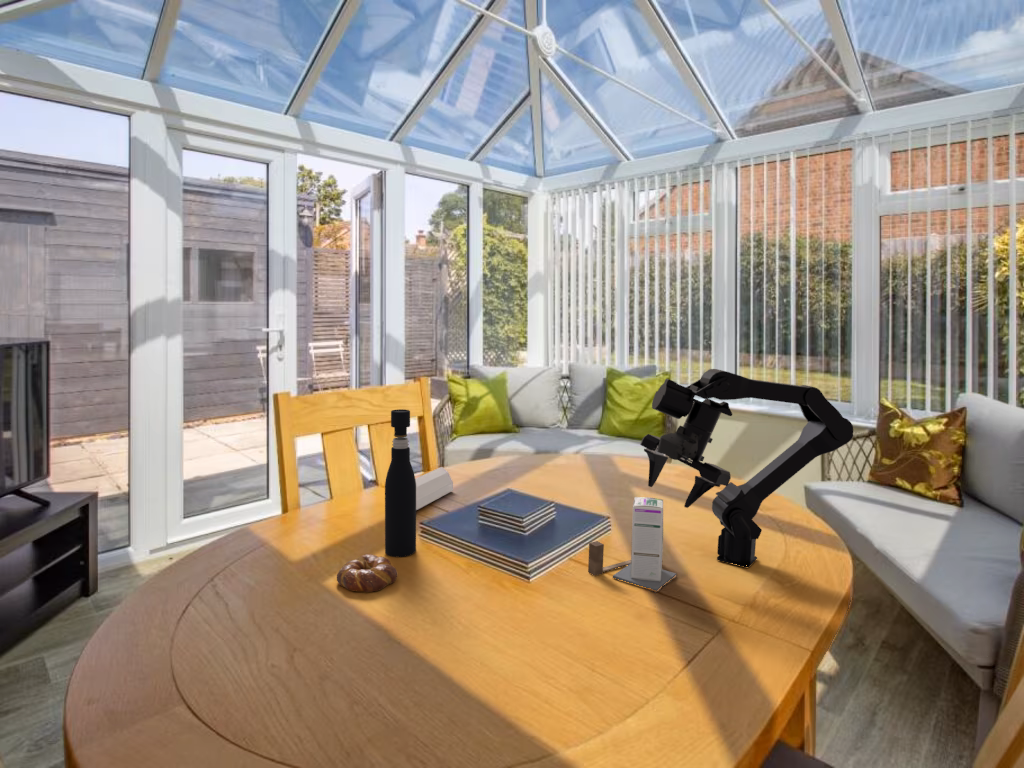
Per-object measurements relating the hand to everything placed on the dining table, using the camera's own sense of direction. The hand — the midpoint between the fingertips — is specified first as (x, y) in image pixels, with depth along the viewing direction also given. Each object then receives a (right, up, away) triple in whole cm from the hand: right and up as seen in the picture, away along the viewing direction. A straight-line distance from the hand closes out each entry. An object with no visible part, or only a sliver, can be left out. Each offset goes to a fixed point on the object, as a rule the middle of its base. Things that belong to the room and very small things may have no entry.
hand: (667, 496), depth 121 cm
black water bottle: (-56, -12, +3) cm, 57 cm away
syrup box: (-6, -14, -7) cm, 17 cm away
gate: (-10, -14, -2) cm, 17 cm away
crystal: (-56, -9, +38) cm, 68 cm away
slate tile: (-6, -14, -7) cm, 17 cm away
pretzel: (-59, -14, -11) cm, 62 cm away
